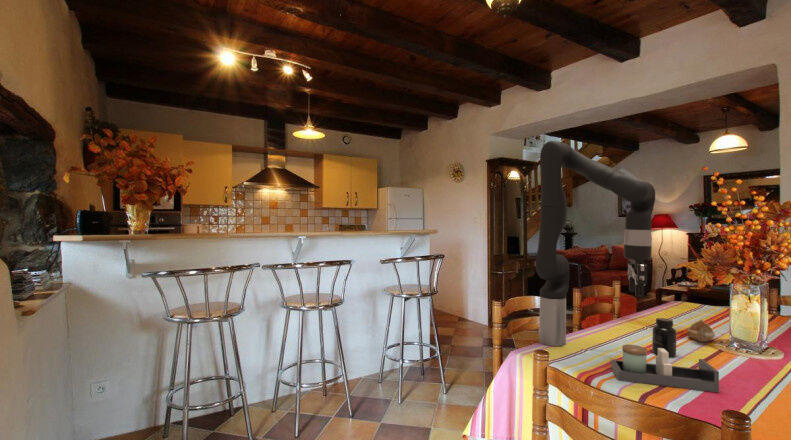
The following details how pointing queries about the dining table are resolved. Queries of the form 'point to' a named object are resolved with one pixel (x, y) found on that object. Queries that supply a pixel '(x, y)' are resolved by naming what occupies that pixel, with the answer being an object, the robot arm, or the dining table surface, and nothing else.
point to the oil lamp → (701, 331)
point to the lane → (673, 376)
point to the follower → (663, 363)
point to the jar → (634, 358)
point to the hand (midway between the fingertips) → (636, 294)
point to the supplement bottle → (664, 336)
